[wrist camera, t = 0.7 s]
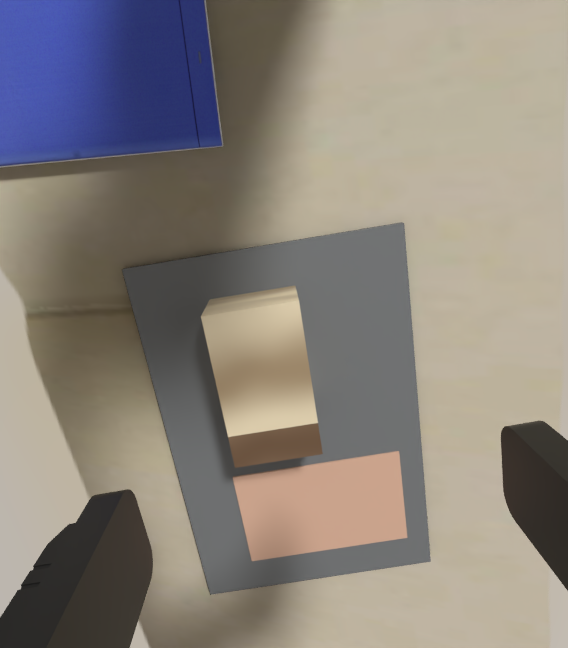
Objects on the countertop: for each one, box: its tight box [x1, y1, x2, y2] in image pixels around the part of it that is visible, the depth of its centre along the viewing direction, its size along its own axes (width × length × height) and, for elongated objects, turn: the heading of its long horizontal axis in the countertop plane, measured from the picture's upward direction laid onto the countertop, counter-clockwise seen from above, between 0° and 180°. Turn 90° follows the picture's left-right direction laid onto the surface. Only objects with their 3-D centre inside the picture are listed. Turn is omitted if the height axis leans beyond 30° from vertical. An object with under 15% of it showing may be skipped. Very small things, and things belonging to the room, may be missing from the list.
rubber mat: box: [122, 223, 431, 595], centre depth 29 cm, size 24×16×1 cm, turn 9°
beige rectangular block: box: [201, 286, 323, 468], centre depth 26 cm, size 9×5×4 cm, turn 9°
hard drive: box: [0, 0, 223, 168], centre depth 23 cm, size 2×8×12 cm
